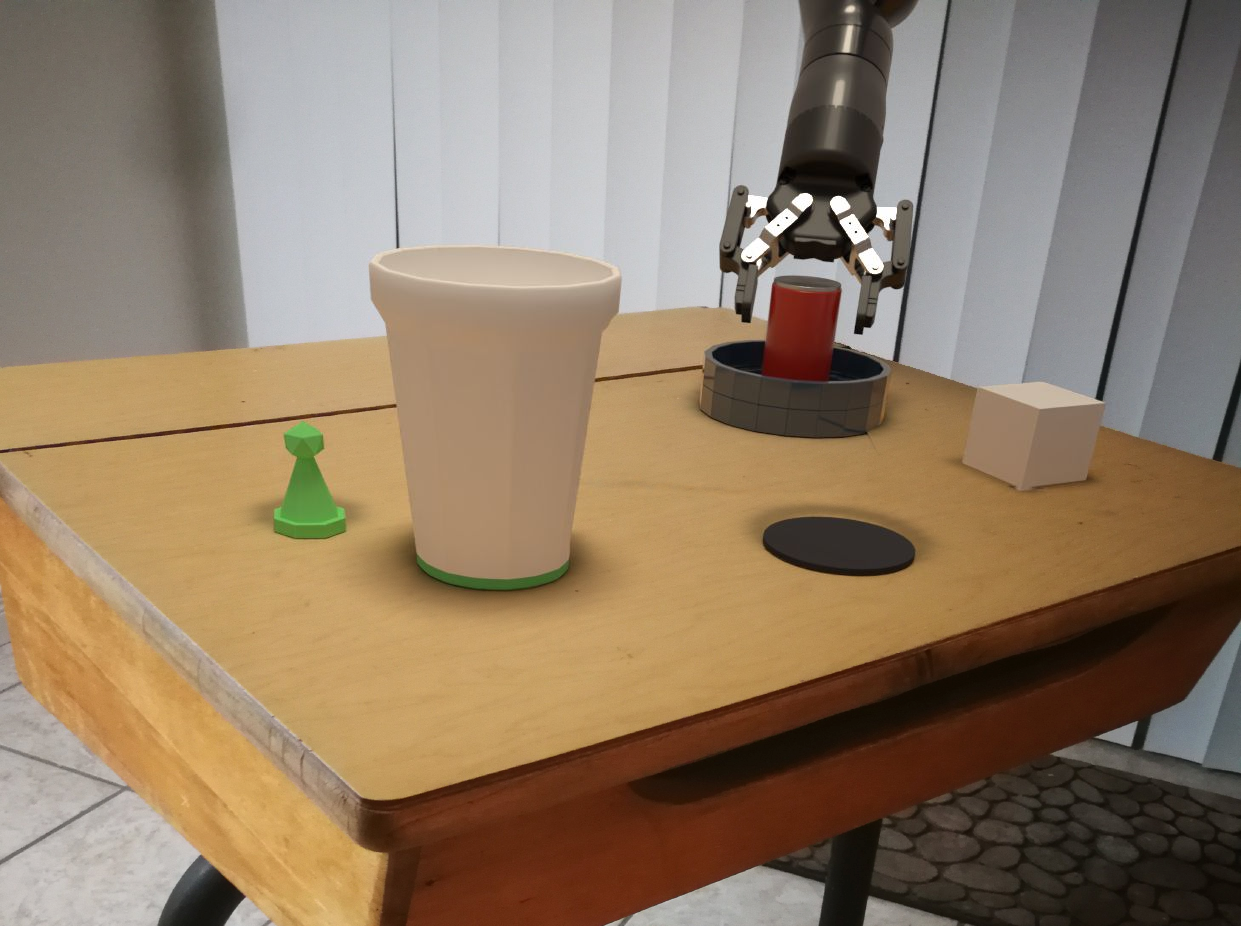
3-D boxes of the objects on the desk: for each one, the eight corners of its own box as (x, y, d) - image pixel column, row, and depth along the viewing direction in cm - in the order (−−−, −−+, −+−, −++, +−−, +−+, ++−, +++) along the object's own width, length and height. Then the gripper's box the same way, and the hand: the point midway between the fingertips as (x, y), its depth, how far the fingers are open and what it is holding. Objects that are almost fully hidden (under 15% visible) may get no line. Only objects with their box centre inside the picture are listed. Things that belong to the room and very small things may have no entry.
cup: (453, 622, 65) (451, 294, 57) (340, 545, 73) (324, 248, 65) (650, 579, 71) (674, 279, 63) (526, 513, 80) (532, 239, 71)
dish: (865, 402, 108) (875, 346, 106) (894, 451, 96) (905, 388, 94) (695, 392, 108) (700, 334, 105) (703, 439, 96) (709, 375, 93)
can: (819, 405, 104) (837, 277, 99) (827, 423, 99) (847, 289, 94) (754, 401, 104) (769, 273, 99) (759, 418, 99) (775, 285, 94)
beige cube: (1083, 491, 90) (1106, 402, 87) (1018, 500, 88) (1040, 409, 84) (1022, 466, 95) (1042, 380, 91) (959, 473, 92) (977, 386, 89)
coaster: (900, 527, 81) (901, 521, 81) (927, 579, 74) (928, 573, 74) (756, 518, 81) (757, 512, 81) (769, 570, 74) (770, 563, 73)
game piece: (360, 532, 75) (355, 427, 72) (289, 543, 73) (281, 435, 70) (329, 510, 78) (324, 407, 75) (260, 520, 76) (251, 415, 73)
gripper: (742, 94, 98) (707, 281, 95) (933, 108, 96) (904, 300, 93) (742, 167, 106) (709, 343, 102) (919, 181, 104) (892, 361, 100)
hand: (802, 322), depth 98 cm, fingers open, 8 cm apart
